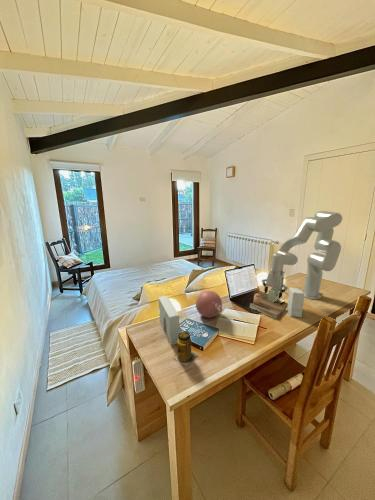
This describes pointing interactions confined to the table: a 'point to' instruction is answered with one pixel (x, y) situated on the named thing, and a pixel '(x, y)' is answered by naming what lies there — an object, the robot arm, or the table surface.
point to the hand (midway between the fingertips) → (272, 295)
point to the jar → (257, 299)
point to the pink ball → (209, 304)
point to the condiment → (184, 349)
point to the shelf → (269, 308)
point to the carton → (273, 294)
